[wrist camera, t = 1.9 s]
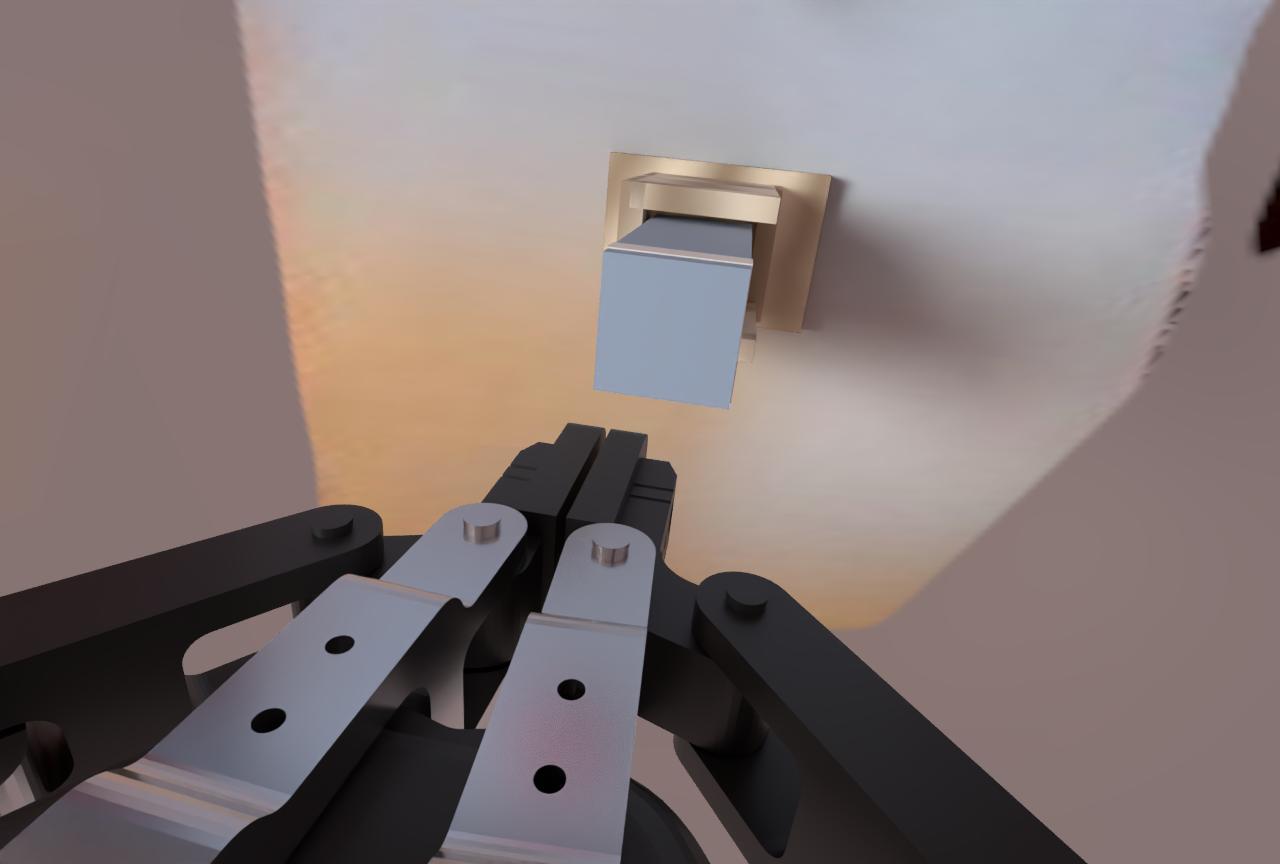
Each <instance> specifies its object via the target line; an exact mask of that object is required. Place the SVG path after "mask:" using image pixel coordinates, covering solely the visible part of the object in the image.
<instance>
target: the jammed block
mask: <svg viewBox="0 0 1280 864" xmlns="http://www.w3.org/2000/svg"><path fill="white" fill-rule="evenodd" d="M752 268H753V259H752V224H743V223H735V222H726V221H718V220H709V219H700V218H692V217H683V216H674V215H666V214H656V215H654V216H653V217H652V218H650V219H649V220H647V221H646V222H644V223H643V224H642V225H640V226H639V227H637V228H636V229H634V230H633V231H632V232H630V233H629V234H627V235H626V236H624V237H623V238H622V239H620V240H619V241H617V242H612V243H611V244H609V245H608V246H607V248H606V250H604V251H603V262H602V276H601V290H600V304H599V318H598V332H597V346H596V361H595V375H594V389H593V390H599V391H606V392H613V393H619V394H626V395H633V396H640V397H647V398H654V399H661V400H668V401H675V402H681V403H688V404H695V405H702V406H709V407H716V408H723V409H729V405H730V403H731V398H732V392H733V386H734V380H735V374H736V367H737V361H738V355H739V349H740V343H741V336H742V330H743V324H744V318H745V312H746V305H747V299H748V293H749V287H750V281H751V274H752Z"/></svg>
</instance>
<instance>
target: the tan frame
mask: <svg viewBox="0 0 1280 864" xmlns="http://www.w3.org/2000/svg"><path fill="white" fill-rule="evenodd" d="M831 177H832V176H830V175H823V174H814V173H804V172H795V171H786V170H776V169H767V168H757V167H748V166H739V165H729V164H720V163H711V162H701V161H692V160H683V159H673V158H664V157H655V156H645V155H636V154H627V153H617V152H610V160H609V174H608V188H607V202H606V216H605V231H604V245H603V251H604V250H606V248H607V246H608V245H609V244H611V243H612V242H617V241H619V240H620V239H622V238H623V237H624V236H626V235H627V234H629V233H630V232H632V231H633V230H634V229H636V228H637V227H639V226H640V225H642V224H643V223H644V222H646V221H647V220H649V219H650V218H652V217H653V216H654V215H656V214H666V215H674V216H683V217H692V218H700V219H709V220H718V221H726V222H735V223H743V224H752V259H753V268H752V274H751V281H750V287H749V293H748V299H747V305H746V312H745V318H744V324H743V330H742V336H741V343H740V349H739V355H738V361H744V362H751V363H753V357H754V351H755V345H756V327H761V328H768V329H776V330H783V331H791V332H799V333H801V328H802V323H803V318H804V313H805V308H806V303H807V298H808V293H809V288H810V283H811V278H812V273H813V268H814V262H815V257H816V252H817V247H818V242H819V237H820V232H821V227H822V222H823V217H824V212H825V207H826V202H827V197H828V192H829V187H830V182H831ZM602 262H603V259H602ZM601 276H602V273H601ZM600 290H601V287H600ZM599 304H600V302H599Z"/></svg>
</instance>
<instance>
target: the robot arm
mask: <svg viewBox="0 0 1280 864" xmlns="http://www.w3.org/2000/svg"><path fill="white" fill-rule="evenodd" d="M647 443H648V435H647V434H641V433H635V432H628V431H621V430H615V429H611V430H610V432H609V434H608V436H607V438H606V431H605V428H601V427H594V426H588V425H581V424H574V423H568V424H567V425H566V427H565V428H564V430H563V431H562V433H561V434H560V436H559V437H558V439H557V440H556V442H555V443H554V444H549V443H542V442H538V443H536V444H534V445H532V446H530V447H528V448H526V449H524V450H522V451H520V452H519V454H518V455H517V456H516V458H515V459H514V460H513V462H512V463H511V466H509V467H508V468H507V469H506V471H505V472H504V473H503V477H500V479H499V480H498V481H497V483H496V484H495V485H494V486H493V488H492V489H491V490H490V492H489V493H488V494H487V496H486V497H485V498H484V500H483V501H482V502H481V503H475V504H468V505H464V506H460V507H457V508H455V509H452V510H450V511H449V512H447V513H445V514H444V515H443V516H442V517H441V518H440V519H439V520H438V521H437V522H436V523H435V524H434V525H433V526H432V527H431V528H430V529H429V530H428V531H427V532H426V533H425V534H424V535H407V536H383V523H382V519H381V517H380V516H379V515H378V514H377V513H376V512H375V511H373V510H371V509H368V508H365V507H362V506H357V505H330V506H324V507H319V508H315V509H312V510H308V511H305V512H301V513H297V514H294V515H291V516H287V517H283V518H280V519H276V520H273V521H269V522H266V523H262V524H258V525H255V526H251V527H248V528H244V529H241V530H237V531H233V532H230V533H226V534H223V535H219V536H216V537H213V538H209V539H205V540H201V541H198V542H194V543H191V544H187V545H184V546H180V547H177V548H173V549H169V550H166V551H162V552H159V553H155V554H152V555H148V556H144V557H141V558H137V559H134V560H130V561H127V562H123V563H120V564H116V565H112V566H109V567H105V568H102V569H99V570H95V571H91V572H88V573H84V574H80V575H77V576H73V577H70V578H66V579H63V580H59V581H56V582H52V583H48V584H45V585H41V586H38V587H34V588H31V589H27V590H24V591H20V592H17V593H13V594H9V595H6V596H2V597H0V864H710V863H709V861H708V859H707V857H706V855H705V854H704V852H703V850H702V849H701V847H700V845H699V844H698V842H697V841H696V839H695V838H694V836H693V835H692V834H691V832H690V831H689V830H688V828H687V827H686V826H685V824H684V823H683V822H682V821H681V819H680V818H679V817H678V816H677V815H676V814H675V813H674V812H673V811H672V810H671V809H670V808H669V807H668V806H667V804H666V803H664V801H663V800H661V799H660V798H659V797H658V796H656V795H655V794H654V793H653V792H651V791H650V790H649V789H648V788H646V787H645V786H643V785H642V784H640V783H638V782H637V781H635V780H633V779H632V778H631V777H630V773H631V765H632V756H633V748H634V739H635V730H636V722H637V715H638V716H639V717H641V718H643V719H645V720H647V721H649V722H651V723H653V724H655V725H657V726H659V727H661V728H663V729H665V730H667V731H669V732H671V733H673V734H674V739H673V743H674V748H675V752H676V754H677V756H678V758H679V760H680V762H681V763H682V765H683V766H684V767H685V769H686V770H687V772H688V773H689V775H690V776H691V778H692V779H693V781H694V782H695V784H696V785H697V787H698V788H699V790H700V791H701V793H702V794H703V796H704V797H705V799H706V800H707V802H708V803H709V805H710V806H711V808H712V809H713V811H714V812H715V814H716V815H717V817H718V818H719V820H720V821H721V823H722V824H723V826H724V827H725V829H726V830H727V832H728V833H729V835H730V836H731V838H732V839H733V841H734V842H735V844H736V845H737V846H738V848H739V850H740V851H741V852H742V854H743V856H744V857H745V859H746V860H747V861H748V863H749V864H1087V863H1086V862H1085V861H1084V860H1083V859H1082V858H1081V857H1080V856H1078V855H1077V854H1076V853H1075V852H1074V851H1073V850H1072V849H1071V848H1069V847H1068V846H1067V845H1066V844H1065V843H1064V842H1063V841H1062V840H1061V839H1060V838H1058V837H1057V836H1056V835H1055V834H1054V833H1053V832H1052V831H1051V830H1050V829H1048V828H1047V827H1046V826H1045V825H1044V824H1043V823H1042V822H1040V820H1038V819H1037V818H1036V817H1035V816H1034V815H1033V814H1032V813H1031V812H1030V811H1029V810H1027V809H1026V808H1025V807H1024V806H1023V805H1022V804H1021V803H1020V802H1018V801H1017V800H1016V799H1015V798H1014V797H1013V796H1012V795H1010V793H1009V792H1007V791H1006V790H1005V789H1004V788H1003V787H1002V786H1001V785H1000V784H999V783H997V782H996V781H995V780H994V779H993V778H992V777H991V776H989V774H987V773H986V772H985V771H984V770H983V769H982V768H981V767H980V766H979V765H977V764H976V763H975V762H974V761H973V760H972V759H971V758H970V757H969V756H967V755H966V754H965V753H964V752H963V751H962V750H961V749H960V748H959V747H957V746H956V745H955V744H954V743H953V742H952V741H951V740H950V739H949V738H948V737H946V736H945V735H944V734H943V733H942V732H941V731H940V730H939V729H938V728H937V727H935V726H934V725H933V724H932V723H931V722H930V721H929V720H928V719H926V718H925V717H924V716H923V715H922V714H921V713H920V712H919V711H918V710H916V709H915V708H914V707H913V706H912V705H911V704H910V703H909V702H908V701H906V700H905V699H904V698H903V697H902V696H901V695H900V694H899V693H898V692H897V691H895V690H894V689H893V688H892V687H891V686H890V685H889V684H888V683H887V682H886V681H884V680H883V679H882V678H881V677H880V676H879V675H878V674H877V673H875V672H874V671H873V670H872V669H871V668H870V667H869V666H868V665H867V664H865V663H864V662H863V661H862V660H861V659H860V658H859V657H858V656H857V655H856V654H854V653H853V652H852V651H851V650H850V649H849V648H848V647H847V646H846V645H844V644H843V643H842V642H841V641H840V640H839V639H838V638H836V637H835V636H834V635H833V634H832V633H831V632H830V631H829V630H828V629H827V628H826V627H825V626H823V625H822V624H821V623H820V622H819V621H818V620H817V619H816V618H815V617H813V616H812V615H811V614H810V613H809V612H808V611H807V610H806V609H805V608H803V607H802V606H801V605H800V604H799V603H798V602H797V601H796V600H795V599H793V598H792V597H791V596H790V595H789V594H788V593H787V592H786V591H785V590H783V589H782V588H781V587H780V586H778V585H777V584H775V583H773V582H772V581H770V580H768V579H765V578H763V577H760V576H757V575H754V574H750V573H744V572H723V573H717V574H715V575H712V576H710V577H708V578H706V579H705V580H704V581H702V582H701V584H700V585H696V584H694V583H691V582H689V581H687V580H685V579H683V578H681V577H680V576H678V575H677V574H675V573H674V572H673V571H671V570H670V569H669V567H668V566H667V565H666V564H665V562H664V559H665V555H666V550H667V546H668V540H669V533H670V525H671V518H672V510H673V503H674V495H675V487H676V480H677V475H676V473H675V471H674V470H673V468H672V466H671V464H670V463H669V462H666V461H659V460H653V459H646V453H647ZM290 603H291V606H292V613H293V620H292V621H291V622H290V623H289V624H288V625H287V626H286V627H285V628H284V629H282V630H281V631H280V632H279V633H278V634H277V635H276V636H275V637H274V638H273V639H272V640H271V641H269V642H268V643H267V644H266V645H265V646H264V647H263V648H262V649H261V650H260V651H258V652H255V653H252V654H250V655H247V656H245V657H242V658H240V659H237V660H235V661H232V662H230V663H227V664H225V665H222V666H219V667H217V668H215V669H212V670H210V671H207V672H204V673H201V674H197V675H184V671H183V667H182V660H183V657H184V654H185V652H186V651H187V649H188V648H189V647H190V645H191V644H192V643H194V641H196V640H197V639H199V638H200V637H202V636H204V635H205V634H208V633H210V632H213V631H215V630H218V629H221V628H224V627H226V626H229V625H232V624H234V623H237V622H240V621H243V620H245V619H248V618H251V617H254V616H256V615H259V614H262V613H265V612H268V611H271V610H273V609H276V608H279V607H282V606H284V605H287V604H290Z"/></svg>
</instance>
